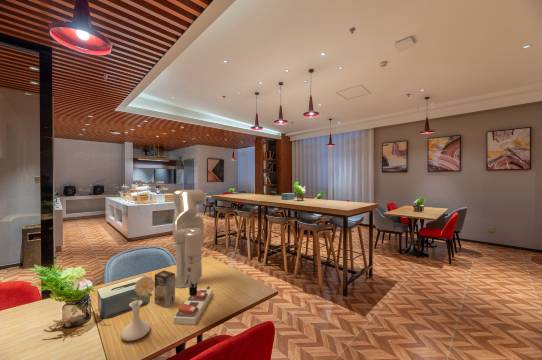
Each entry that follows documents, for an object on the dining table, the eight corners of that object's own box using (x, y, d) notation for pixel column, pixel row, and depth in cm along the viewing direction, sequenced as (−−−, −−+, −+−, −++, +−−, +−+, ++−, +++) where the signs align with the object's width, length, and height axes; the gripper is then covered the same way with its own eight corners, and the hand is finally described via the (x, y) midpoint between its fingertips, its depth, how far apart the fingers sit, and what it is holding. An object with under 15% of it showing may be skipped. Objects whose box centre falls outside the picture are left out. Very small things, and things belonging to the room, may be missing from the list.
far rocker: (190, 296, 126) (190, 293, 126) (193, 292, 131) (194, 289, 131) (202, 299, 126) (203, 296, 126) (205, 295, 130) (206, 292, 130)
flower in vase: (118, 346, 96) (118, 285, 95) (123, 329, 106) (122, 274, 105) (154, 338, 101) (154, 280, 100) (155, 322, 111) (155, 270, 111)
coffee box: (153, 303, 127) (153, 274, 127) (163, 298, 133) (163, 270, 133) (166, 308, 124) (166, 277, 123) (175, 302, 129) (175, 273, 129)
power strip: (173, 323, 111) (173, 315, 111) (200, 287, 147) (200, 280, 147) (194, 324, 110) (194, 316, 110) (216, 287, 146) (216, 281, 146)
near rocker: (178, 312, 112) (179, 308, 112) (182, 306, 117) (183, 303, 117) (192, 315, 112) (193, 311, 112) (196, 309, 116) (196, 306, 116)
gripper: (195, 263, 107) (194, 303, 107) (206, 252, 122) (205, 287, 122) (178, 263, 107) (178, 302, 108) (191, 251, 122) (191, 286, 123)
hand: (193, 294), depth 115 cm, fingers closed
